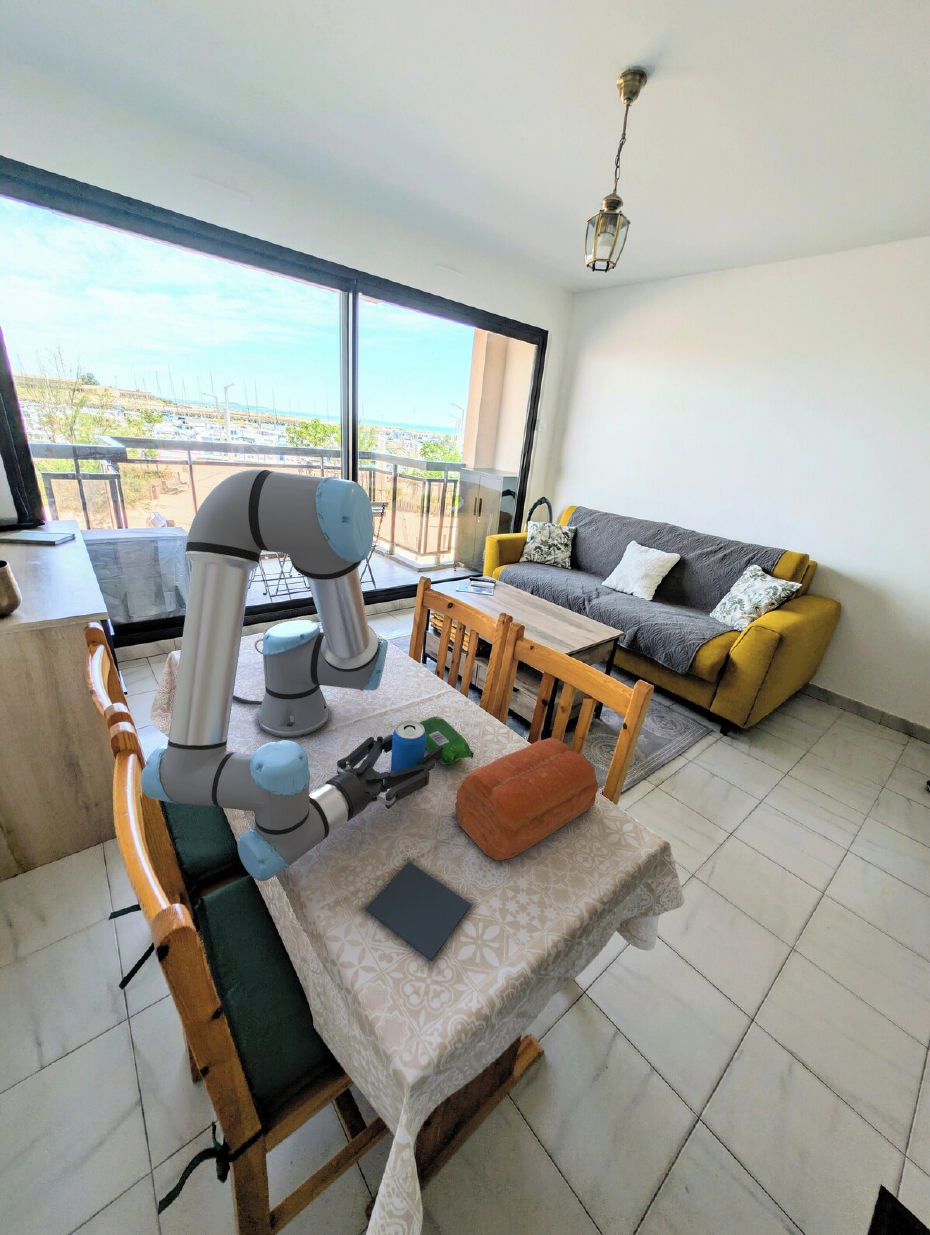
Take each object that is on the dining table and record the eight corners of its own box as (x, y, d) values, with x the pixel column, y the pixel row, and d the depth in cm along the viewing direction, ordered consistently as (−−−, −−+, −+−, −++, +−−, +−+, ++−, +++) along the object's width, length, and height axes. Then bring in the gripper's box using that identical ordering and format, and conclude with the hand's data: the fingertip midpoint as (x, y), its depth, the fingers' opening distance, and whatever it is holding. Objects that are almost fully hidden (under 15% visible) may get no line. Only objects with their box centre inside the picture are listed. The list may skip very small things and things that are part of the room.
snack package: (446, 777, 97) (449, 756, 95) (409, 735, 108) (411, 716, 106) (474, 766, 101) (477, 746, 99) (435, 727, 112) (437, 708, 110)
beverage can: (420, 767, 98) (425, 719, 94) (423, 789, 92) (428, 739, 88) (389, 768, 97) (392, 719, 93) (390, 791, 91) (393, 739, 87)
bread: (600, 808, 93) (612, 765, 89) (501, 873, 77) (510, 824, 73) (543, 763, 104) (551, 723, 100) (446, 812, 88) (451, 766, 84)
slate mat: (365, 909, 69) (365, 907, 68) (409, 863, 77) (409, 861, 76) (431, 961, 63) (431, 959, 63) (470, 905, 71) (471, 903, 71)
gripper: (296, 789, 85) (386, 735, 103) (379, 854, 74) (463, 781, 92) (295, 756, 82) (387, 705, 100) (381, 818, 72) (467, 749, 89)
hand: (423, 742), depth 96 cm, fingers open, 8 cm apart
